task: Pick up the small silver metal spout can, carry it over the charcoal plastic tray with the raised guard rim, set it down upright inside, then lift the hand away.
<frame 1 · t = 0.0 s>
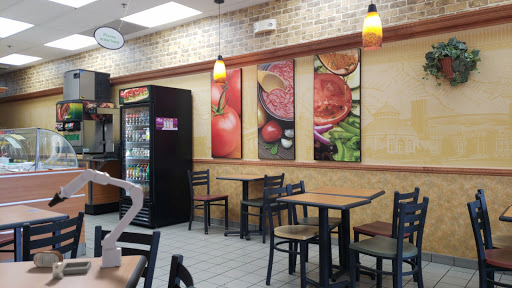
hand: (51, 204, 193), 32 cm above the table, tool tilted 50°, fingers open, 7 cm apart
spout can: (57, 278, 180), on the table
tin: (47, 267, 196), on the table
parts tray: (76, 270, 191), on the table
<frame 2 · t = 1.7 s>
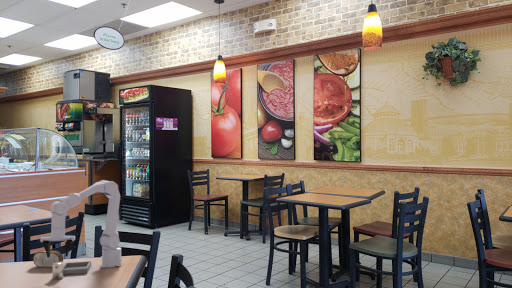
hand: (57, 256, 180), 10 cm above the table, tool pointing down, fingers open, 7 cm apart
nothing on the table moved.
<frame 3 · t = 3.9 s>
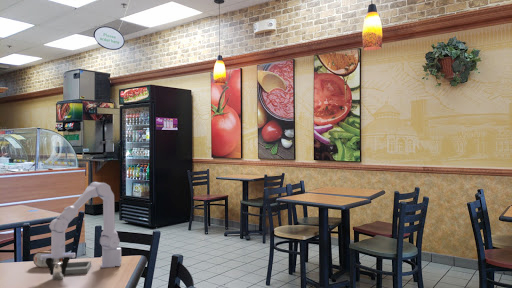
hand: (57, 273, 180), 2 cm above the table, tool pointing down, fingers closed on spout can, 4 cm apart
spout can: (57, 278, 180), on the table, touching gripper
everything else where it was.
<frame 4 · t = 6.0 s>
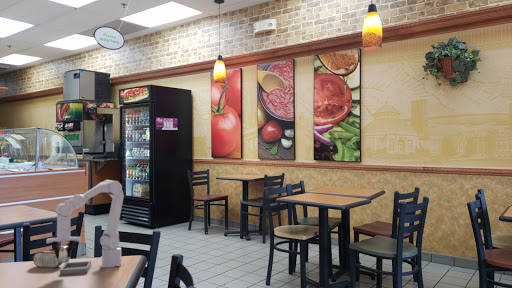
hand: (63, 257, 183), 9 cm above the table, tool pointing down, fingers closed on spout can, 4 cm apart
spout can: (63, 261, 183), point 7 cm above the table, touching gripper
everything else where it was.
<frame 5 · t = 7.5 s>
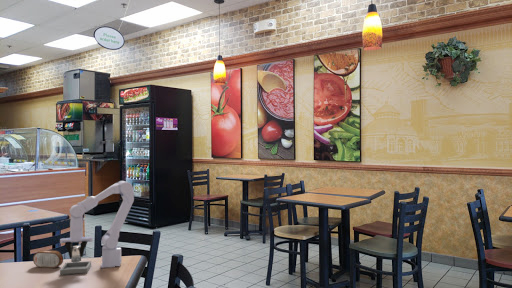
hand: (76, 256, 191), 7 cm above the table, tool pointing down, fingers closed on spout can, 4 cm apart
spout can: (76, 260, 191), point 5 cm above the table, touching gripper
everything else where it was.
when the fingers open (4 cm above the table, at t = 8.5 s): spout can drops 2 cm, resting on parts tray.
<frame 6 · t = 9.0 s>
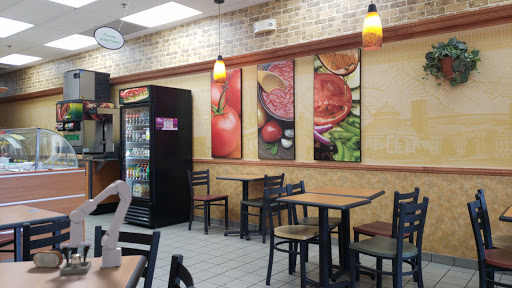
hand: (76, 262, 191), 4 cm above the table, tool pointing down, fingers open, 7 cm apart
spout can: (76, 269, 191), point 1 cm above the table, touching parts tray
everything else where it was.
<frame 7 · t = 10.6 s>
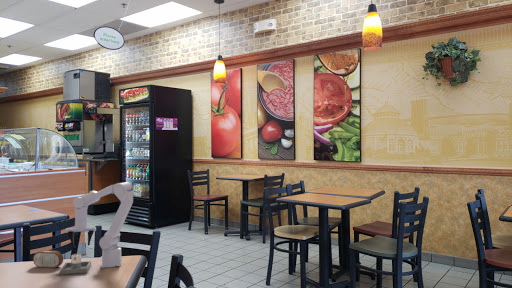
hand: (80, 245, 202), 9 cm above the table, tool pointing down, fingers open, 7 cm apart
nothing on the table moved.
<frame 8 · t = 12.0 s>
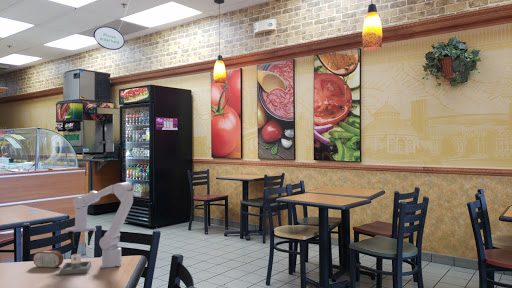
hand: (80, 245, 202), 9 cm above the table, tool pointing down, fingers open, 7 cm apart
nothing on the table moved.
at the end: spout can 0.0 cm off-centre on the parts tray, point 0.6 cm above the parts tray's base; spout can tilted 1°; the gripper is holding nothing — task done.
